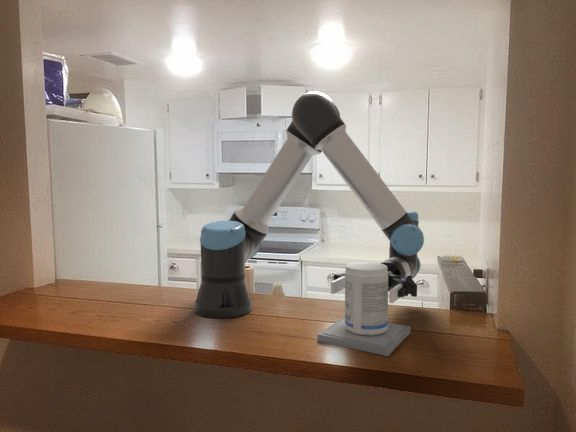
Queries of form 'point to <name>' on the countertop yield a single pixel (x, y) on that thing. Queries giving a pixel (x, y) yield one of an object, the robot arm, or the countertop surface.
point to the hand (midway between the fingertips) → (360, 292)
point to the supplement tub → (366, 298)
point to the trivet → (365, 338)
